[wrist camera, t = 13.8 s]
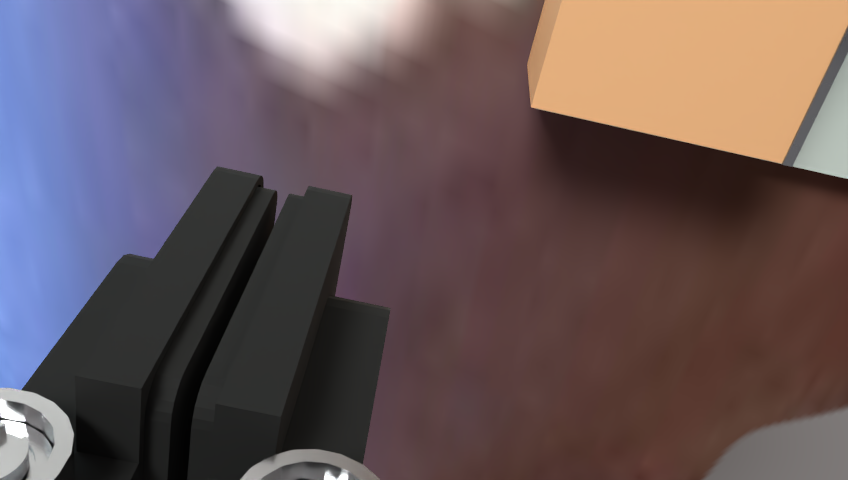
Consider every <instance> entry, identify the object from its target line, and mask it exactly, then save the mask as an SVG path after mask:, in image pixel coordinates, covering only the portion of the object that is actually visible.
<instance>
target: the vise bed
mask: <svg viewBox="0 0 848 480" xmlns="http://www.w3.org/2000/svg"><path fill="white" fill-rule="evenodd" d="M540 110H541V109H540ZM544 111H546V110H544ZM549 112H550V111H549ZM553 113H555V112H553ZM558 114H559V113H558ZM562 115H563V114H562ZM566 116H568V115H566ZM571 117H572V116H571ZM575 118H577V117H575ZM580 119H581V118H580ZM584 120H586V119H584ZM589 121H590V120H589ZM593 122H595V121H593ZM598 123H599V122H598ZM602 124H603V123H602ZM606 125H608V124H606ZM611 126H612V125H611ZM615 127H617V126H615ZM620 128H621V127H620ZM624 129H626V128H624ZM629 130H630V129H629ZM633 131H634V130H633ZM637 132H639V131H637ZM642 133H643V132H642ZM646 134H648V133H646ZM651 135H652V134H651ZM655 136H657V135H655ZM660 137H661V136H660ZM664 138H665V137H664ZM669 139H670V138H669ZM673 140H674V139H673ZM677 141H679V140H677ZM682 142H683V141H682ZM686 143H688V142H686ZM691 144H692V143H691ZM695 145H697V144H695ZM700 146H701V145H700ZM704 147H705V146H704ZM708 148H710V147H708ZM713 149H714V148H713ZM717 150H719V149H717ZM722 151H723V150H722ZM726 152H728V151H726ZM731 153H732V152H731ZM735 154H736V153H735ZM740 155H741V154H740ZM744 156H745V155H744ZM748 157H750V156H748ZM753 158H754V157H753ZM757 159H759V158H757ZM762 160H763V159H762ZM766 161H768V160H766ZM771 162H772V161H771ZM775 163H776V162H775ZM779 164H781V163H779ZM793 167H797V168H802V169H806V170H811V171H815V172H819V173H824V174H828V175H833V176H837V177H842V178H846V179H848V53H847V55H846V57H845V59H844V62H843V64H842V66H841V68H840V70H839V72H838V74H837V76H836V78H835V80H834V82H833V84H832V86H831V88H830V90H829V92H828V94H827V96H826V99H825V101H824V103H823V105H822V107H821V109H820V111H819V113H818V115H817V117H816V119H815V121H814V123H813V125H812V127H811V129H810V131H809V133H808V135H807V138H806V140H805V142H804V144H803V146H802V148H801V150H800V152H799V154H798V156H797V158H796V160H795V162H794V164H793Z"/></svg>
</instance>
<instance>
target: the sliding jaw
mask: <svg viewBox="0 0 848 480" xmlns="http://www.w3.org/2000/svg"><path fill="white" fill-rule="evenodd" d="M847 53H848V0H545V2H544V6H543V9H542V13H541V17H540V20H539V24H538V27H537V31H536V35H535V38H534V42H533V45H532V49H531V52H530V56H529V60H528V63H527V68H528V79H529V91H530V102H531V107H532V108H537V109H541V110H546V111H550V112H555V113H559V114H563V115H568V116H572V117H577V118H581V119H586V120H590V121H595V122H599V123H603V124H608V125H612V126H617V127H621V128H626V129H630V130H634V131H639V132H643V133H648V134H652V135H657V136H661V137H665V138H670V139H674V140H679V141H683V142H688V143H692V144H697V145H701V146H705V147H710V148H714V149H719V150H723V151H728V152H732V153H736V154H741V155H745V156H750V157H754V158H759V159H763V160H768V161H772V162H776V163H781V164H782V165H786V166H790V167H792V166H793V164H794V162H795V160H796V158H797V156H798V154H799V152H800V150H801V148H802V146H803V144H804V142H805V140H806V138H807V135H808V133H809V131H810V129H811V127H812V125H813V123H814V121H815V119H816V117H817V115H818V113H819V111H820V109H821V107H822V105H823V103H824V101H825V99H826V96H827V94H828V92H829V90H830V88H831V86H832V84H833V82H834V80H835V78H836V76H837V74H838V72H839V70H840V68H841V66H842V64H843V62H844V59H845V57H846V55H847Z"/></svg>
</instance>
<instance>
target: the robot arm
mask: <svg viewBox="0 0 848 480" xmlns="http://www.w3.org/2000/svg"><path fill="white" fill-rule="evenodd" d="M351 202H352V195H349V194H344V193H340V192H335V191H330V190H326V189H321V188H316V187H312V186H309V187H308V189H307V191H306V193H305V195H304V196H299V195H294V194H289V195H288V197H287V199H286V202H285V204H284V206H283V208H282V210H281V212H280V214H279V217H278V219H277V221H276V223H275V225H274V221H275V213H276V206H277V191H275V190H271V189H266V188H263V177H262V176H260V175H255V174H251V173H246V172H241V171H237V170H232V169H227V168H222V167H216V169H215V170H214V171H213V172H212V174H211V175H210V177H209V178H208V180H207V181H206V183H205V184H204V186H203V187H202V189H201V190H200V192H199V193H198V195H197V196H196V198H195V199H194V200H193V202H192V203H191V205H190V206H189V208H188V209H187V211H186V212H185V214H184V215H183V217H182V218H181V220H180V221H179V223H178V224H177V226H176V227H175V228H174V230H173V231H172V233H171V234H170V236H169V237H168V239H167V240H166V242H165V243H164V245H163V246H162V248H161V249H160V251H159V252H158V254H157V255H156V257H155V258H154V259H152V258H147V257H142V256H137V255H132V254H127V255H124V256H123V257H122V258H121V259H120V260H119V261H118V262H117V263H116V264H115V266H114V267H113V268H112V270H111V271H110V272H109V274H108V275H107V276H106V278H105V279H104V280H103V282H102V283H101V284H100V286H99V287H98V288H97V290H96V291H95V292H94V294H93V295H92V296H91V298H90V299H89V300H88V302H87V303H86V304H85V306H84V307H83V308H82V310H81V311H80V312H79V314H78V315H77V316H76V318H75V319H74V320H73V322H72V323H71V324H70V326H69V327H68V328H67V330H66V331H65V333H64V334H63V335H62V337H61V338H60V339H59V341H58V342H57V343H56V345H55V346H54V347H53V349H52V350H51V351H50V353H49V354H48V355H47V357H46V358H45V359H44V361H43V362H42V363H41V365H40V366H39V367H38V369H37V370H36V371H35V373H34V374H33V375H32V377H31V378H30V379H29V381H28V382H27V383H26V385H25V386H24V387H23V389H22V390H17V389H12V388H0V480H380V479H379V478H378V477H377V476H376V475H375V474H373V473H372V472H371V471H370V470H369V469H367V468H366V467H365V466H364V465H363V459H364V454H365V448H366V442H367V437H368V431H369V426H370V420H371V414H372V409H373V403H374V398H375V392H376V386H377V381H378V375H379V370H380V364H381V359H382V353H383V347H384V342H385V336H386V331H387V325H388V319H389V313H390V308H388V307H383V306H378V305H373V304H368V303H364V302H359V301H354V300H349V299H344V298H339V297H335V292H336V287H337V281H338V275H339V270H340V264H341V259H342V253H343V248H344V242H345V237H346V231H347V226H348V220H349V215H350V209H351Z"/></svg>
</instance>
